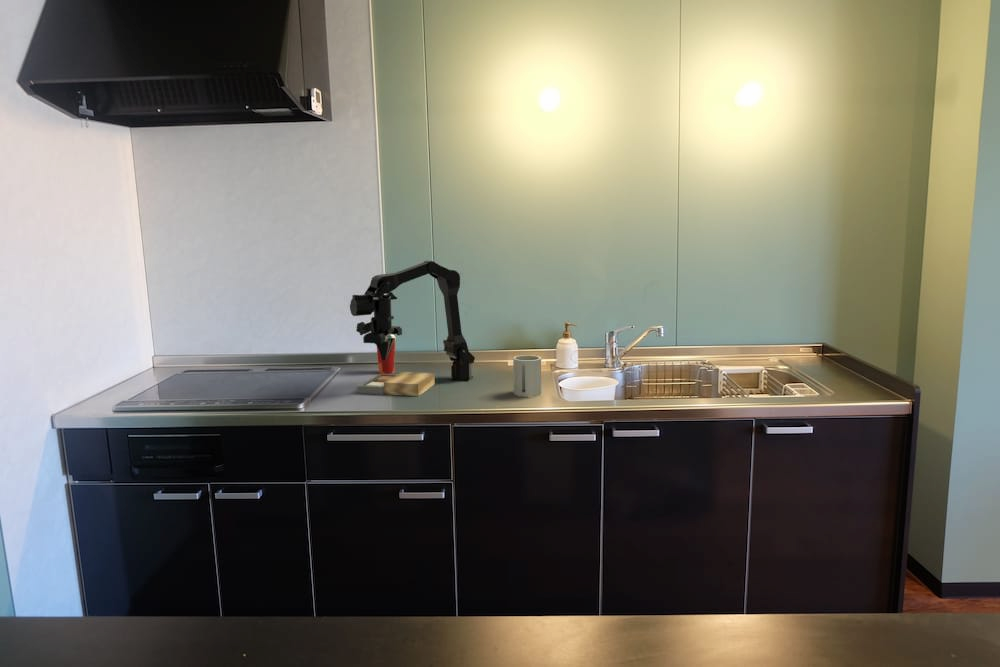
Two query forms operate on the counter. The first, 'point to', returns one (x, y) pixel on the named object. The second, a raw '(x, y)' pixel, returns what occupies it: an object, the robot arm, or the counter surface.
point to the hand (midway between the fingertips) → (384, 359)
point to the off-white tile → (376, 384)
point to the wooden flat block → (409, 383)
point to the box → (372, 389)
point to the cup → (527, 375)
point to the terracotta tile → (383, 378)
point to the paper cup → (387, 360)
